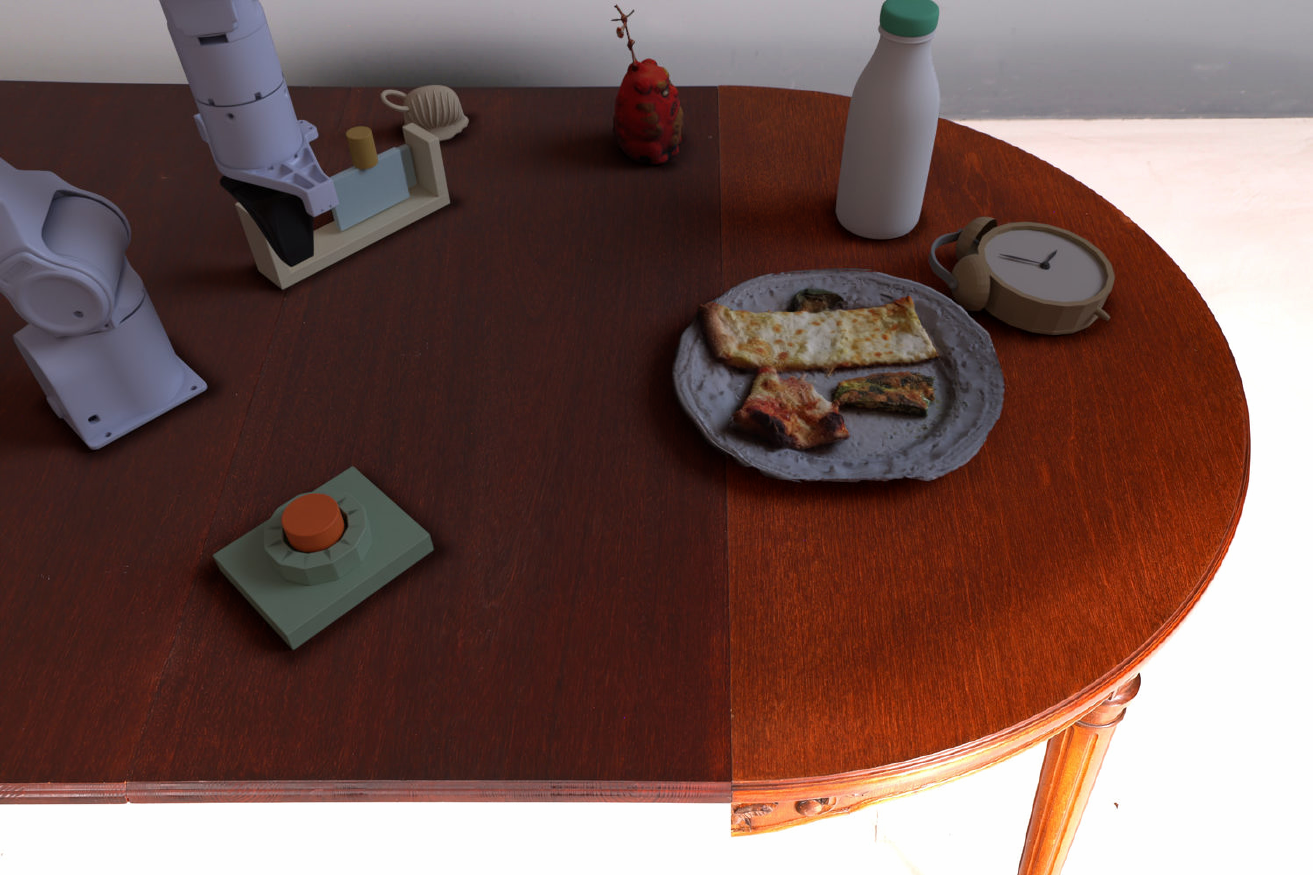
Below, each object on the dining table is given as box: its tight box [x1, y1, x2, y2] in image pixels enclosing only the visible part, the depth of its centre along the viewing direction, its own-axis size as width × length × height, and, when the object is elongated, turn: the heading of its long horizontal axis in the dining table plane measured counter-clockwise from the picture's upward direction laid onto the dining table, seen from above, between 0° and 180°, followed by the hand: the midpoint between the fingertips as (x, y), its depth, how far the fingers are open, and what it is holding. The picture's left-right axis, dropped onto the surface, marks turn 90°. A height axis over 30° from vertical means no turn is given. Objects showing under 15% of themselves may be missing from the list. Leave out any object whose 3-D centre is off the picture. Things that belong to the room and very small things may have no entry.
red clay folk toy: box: [610, 3, 684, 166], centre depth 101 cm, size 8×7×15 cm
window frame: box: [234, 123, 451, 291], centre depth 94 cm, size 18×4×7 cm, turn 136°
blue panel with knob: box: [328, 125, 410, 231], centre depth 94 cm, size 8×2×8 cm, turn 136°
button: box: [281, 493, 344, 553], centre depth 68 cm, size 4×4×2 cm
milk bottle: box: [835, 0, 941, 240], centre depth 90 cm, size 8×8×20 cm
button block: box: [212, 465, 435, 651], centre depth 69 cm, size 11×9×4 cm
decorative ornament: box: [379, 84, 470, 142], centre depth 107 cm, size 4×8×5 cm, turn 104°
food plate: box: [671, 267, 1007, 483], centre depth 80 cm, size 25×23×4 cm
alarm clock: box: [928, 216, 1116, 336], centre depth 88 cm, size 11×5×15 cm
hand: (297, 258), depth 77 cm, fingers closed
